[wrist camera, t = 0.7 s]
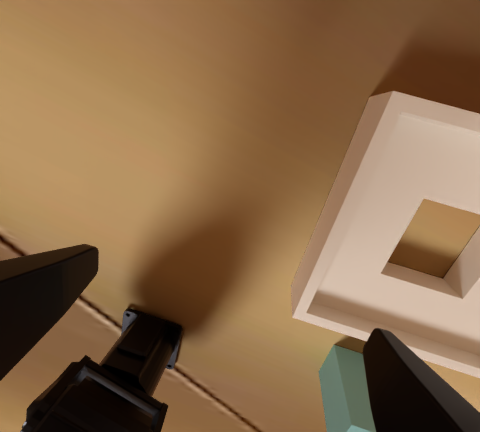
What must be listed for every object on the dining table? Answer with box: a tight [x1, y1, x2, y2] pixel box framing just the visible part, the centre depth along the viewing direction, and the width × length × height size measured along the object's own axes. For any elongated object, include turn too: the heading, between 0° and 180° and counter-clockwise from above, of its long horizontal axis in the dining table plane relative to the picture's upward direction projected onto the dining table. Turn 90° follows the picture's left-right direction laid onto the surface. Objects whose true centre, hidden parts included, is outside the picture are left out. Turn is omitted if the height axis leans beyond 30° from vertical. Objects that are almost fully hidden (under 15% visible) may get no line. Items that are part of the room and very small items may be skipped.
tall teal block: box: [319, 345, 376, 432], centre depth 22 cm, size 4×4×7 cm
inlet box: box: [291, 91, 480, 378], centre depth 18 cm, size 16×16×4 cm
